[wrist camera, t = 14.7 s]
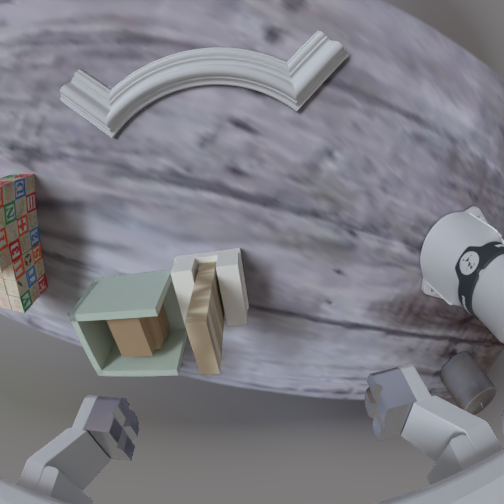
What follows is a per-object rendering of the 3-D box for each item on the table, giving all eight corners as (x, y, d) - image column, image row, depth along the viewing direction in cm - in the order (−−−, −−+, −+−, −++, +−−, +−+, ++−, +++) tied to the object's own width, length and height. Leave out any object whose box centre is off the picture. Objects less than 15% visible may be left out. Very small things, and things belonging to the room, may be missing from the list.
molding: (341, 33, 35) (348, 28, 33) (350, 110, 40) (357, 110, 37) (62, 77, 36) (52, 75, 33) (69, 149, 40) (60, 151, 38)
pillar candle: (464, 374, 63) (490, 412, 49) (435, 384, 63) (460, 426, 49) (474, 346, 59) (505, 385, 46) (444, 356, 60) (474, 399, 46)
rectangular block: (215, 261, 46) (206, 321, 33) (224, 306, 50) (220, 373, 36) (200, 263, 46) (184, 323, 33) (210, 308, 50) (200, 375, 36)
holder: (240, 248, 47) (239, 263, 42) (248, 304, 51) (249, 324, 46) (175, 256, 47) (168, 272, 42) (189, 310, 51) (184, 330, 46)
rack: (171, 269, 48) (155, 308, 38) (188, 330, 53) (178, 375, 43) (96, 278, 49) (67, 314, 38) (117, 334, 53) (98, 375, 43)
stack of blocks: (49, 287, 49) (15, 324, 38) (25, 283, 49) (-9, 317, 38) (35, 172, 41) (-12, 191, 30) (10, 173, 41) (-37, 191, 29)
